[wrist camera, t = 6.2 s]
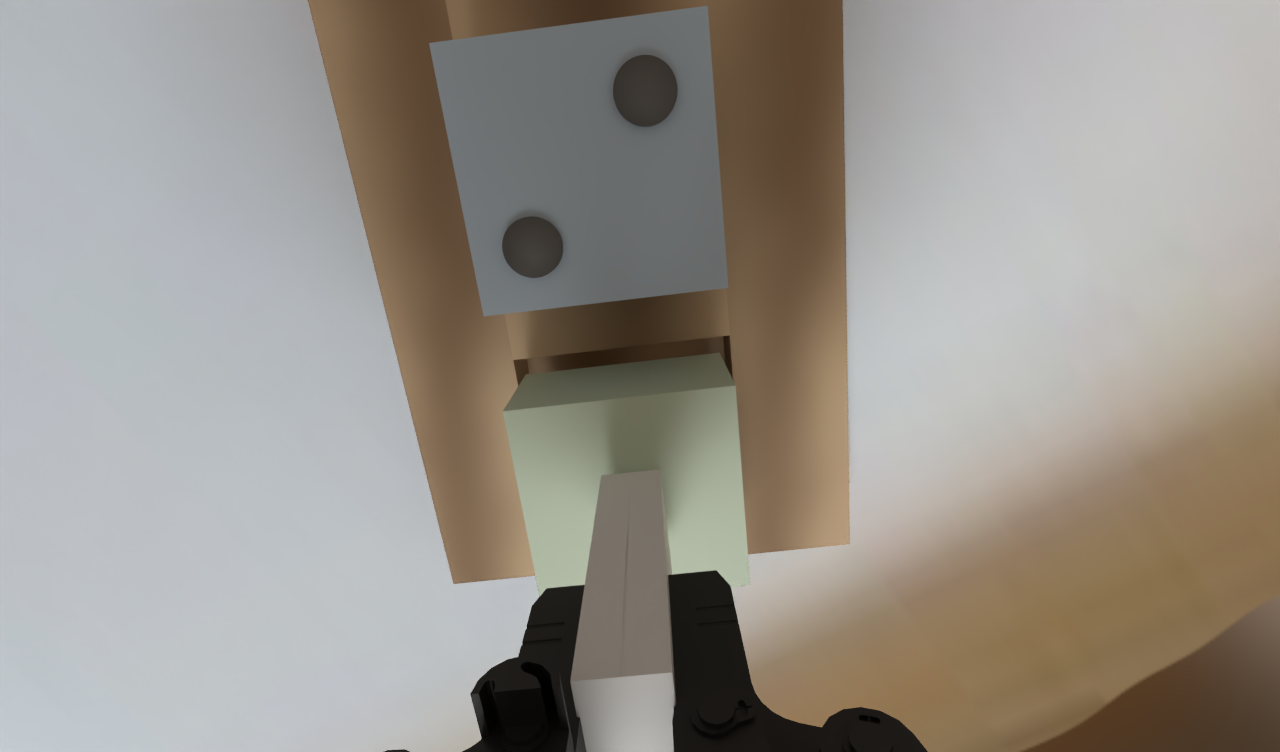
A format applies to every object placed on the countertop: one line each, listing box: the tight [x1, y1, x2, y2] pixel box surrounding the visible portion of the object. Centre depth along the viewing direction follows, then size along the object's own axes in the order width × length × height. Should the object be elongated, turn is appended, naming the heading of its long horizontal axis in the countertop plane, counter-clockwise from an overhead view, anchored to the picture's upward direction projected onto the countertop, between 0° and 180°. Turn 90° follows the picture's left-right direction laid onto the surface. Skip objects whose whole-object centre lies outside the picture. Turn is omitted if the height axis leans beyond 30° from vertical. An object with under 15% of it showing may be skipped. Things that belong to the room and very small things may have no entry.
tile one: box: [503, 353, 750, 596], centre depth 17 cm, size 6×6×3 cm
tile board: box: [308, 0, 850, 584], centre depth 18 cm, size 14×26×2 cm, turn 7°
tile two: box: [429, 6, 728, 316], centre depth 15 cm, size 6×6×3 cm
